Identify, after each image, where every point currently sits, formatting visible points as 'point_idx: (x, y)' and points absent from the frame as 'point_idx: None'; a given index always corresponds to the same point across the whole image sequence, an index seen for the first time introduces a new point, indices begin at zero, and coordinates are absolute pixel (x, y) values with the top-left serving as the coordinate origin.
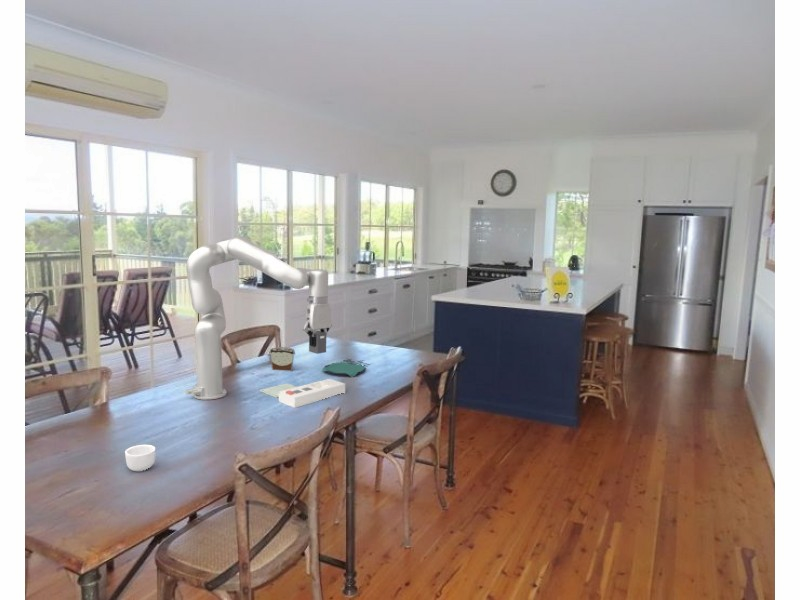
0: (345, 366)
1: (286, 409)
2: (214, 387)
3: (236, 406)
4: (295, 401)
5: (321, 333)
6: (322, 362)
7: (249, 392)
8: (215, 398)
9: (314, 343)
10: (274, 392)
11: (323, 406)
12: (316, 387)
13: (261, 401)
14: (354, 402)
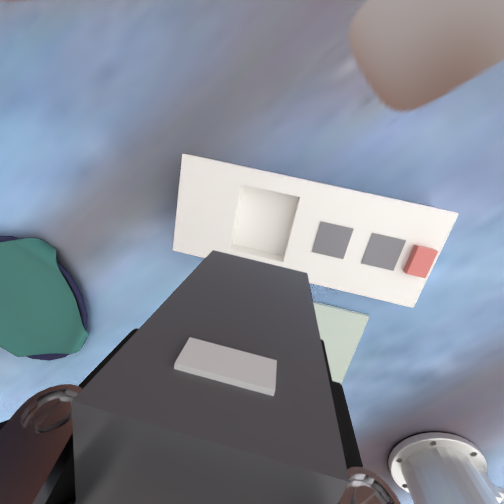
0: (3, 315)
1: (461, 220)
2: (474, 477)
3: (496, 362)
4: (443, 209)
5: (222, 450)
6: (27, 389)
7: (361, 400)
8: (462, 438)
9: (326, 364)
10: (335, 345)
11: (369, 125)
12: (251, 249)
13: (419, 332)
14: (263, 45)
